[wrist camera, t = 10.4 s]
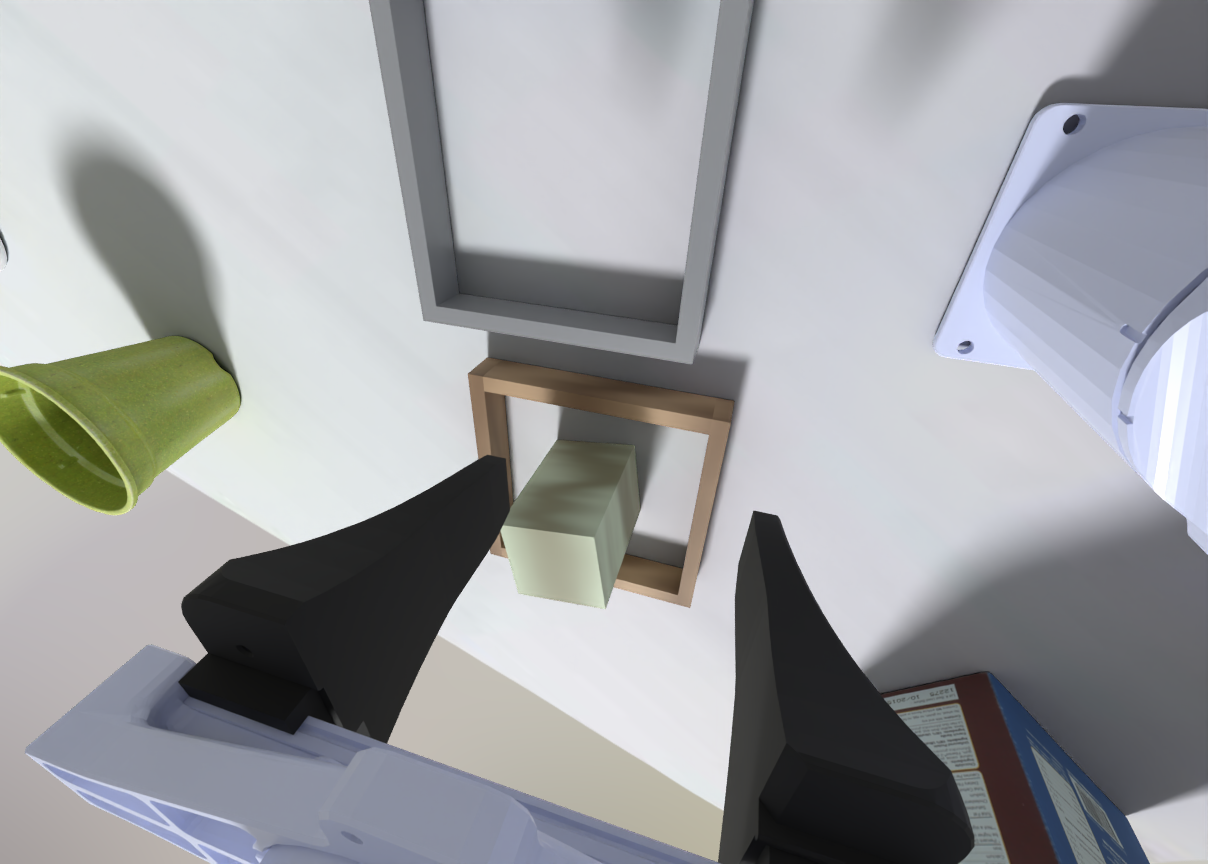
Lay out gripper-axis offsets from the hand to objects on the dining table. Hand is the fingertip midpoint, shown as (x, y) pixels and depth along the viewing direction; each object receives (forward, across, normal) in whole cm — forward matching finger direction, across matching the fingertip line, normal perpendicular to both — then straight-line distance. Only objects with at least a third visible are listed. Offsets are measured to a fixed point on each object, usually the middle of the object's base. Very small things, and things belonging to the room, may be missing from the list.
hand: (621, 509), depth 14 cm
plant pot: (+11, +31, +7) cm, 34 cm away
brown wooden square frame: (+10, +3, +8) cm, 13 cm away
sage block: (+11, +3, +8) cm, 13 cm away
